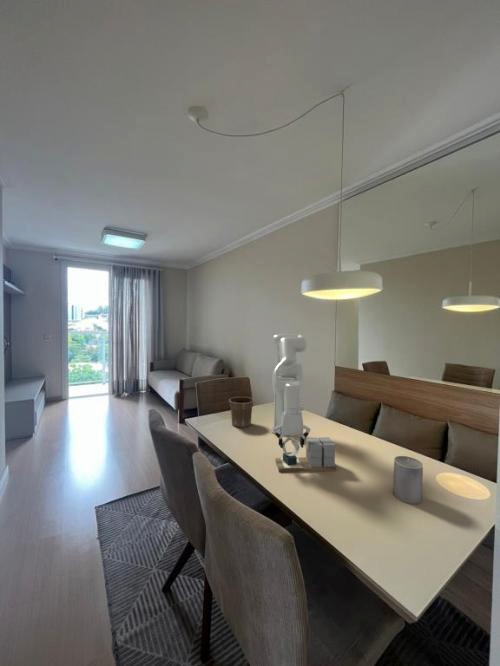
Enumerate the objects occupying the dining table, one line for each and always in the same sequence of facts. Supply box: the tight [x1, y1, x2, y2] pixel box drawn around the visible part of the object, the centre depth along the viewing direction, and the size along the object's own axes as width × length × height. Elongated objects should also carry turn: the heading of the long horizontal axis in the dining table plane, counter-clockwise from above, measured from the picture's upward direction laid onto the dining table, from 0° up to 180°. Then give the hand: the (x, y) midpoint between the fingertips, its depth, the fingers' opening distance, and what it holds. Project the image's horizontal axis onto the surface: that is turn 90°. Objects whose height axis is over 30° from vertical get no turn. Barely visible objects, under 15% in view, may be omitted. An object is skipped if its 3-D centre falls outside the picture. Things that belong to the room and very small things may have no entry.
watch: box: [281, 437, 301, 465], centre depth 131 cm, size 6×8×11 cm
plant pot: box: [228, 396, 255, 428], centre depth 184 cm, size 16×16×16 cm
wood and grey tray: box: [274, 437, 337, 473], centre depth 131 cm, size 10×26×12 cm, turn 94°
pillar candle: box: [392, 455, 424, 505], centre depth 109 cm, size 10×10×15 cm
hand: (291, 446), depth 131 cm, fingers open, 9 cm apart
